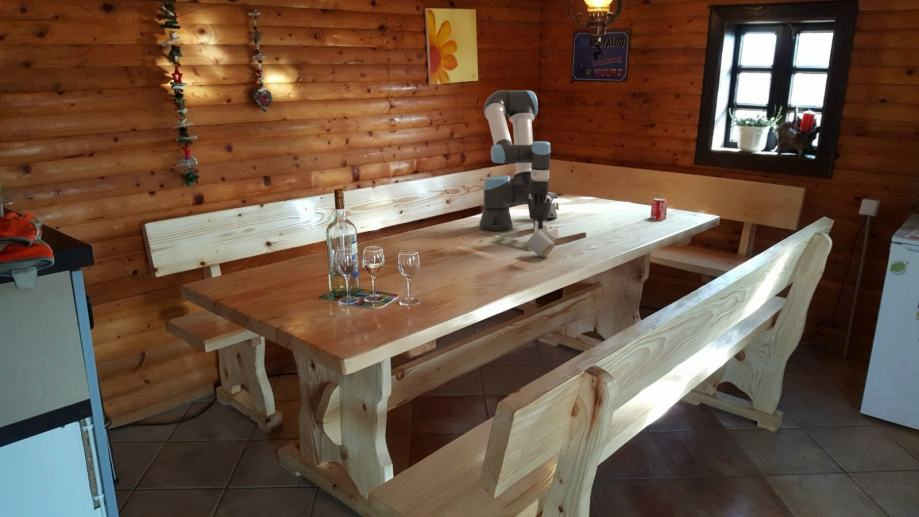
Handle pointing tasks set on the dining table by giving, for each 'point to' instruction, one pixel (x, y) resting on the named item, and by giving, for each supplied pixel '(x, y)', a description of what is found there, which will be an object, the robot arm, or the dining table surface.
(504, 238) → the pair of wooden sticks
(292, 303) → the dining table surface
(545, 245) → the ceramic mug
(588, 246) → the dining table surface
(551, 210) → the figurine
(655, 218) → the soda can
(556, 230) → the die
